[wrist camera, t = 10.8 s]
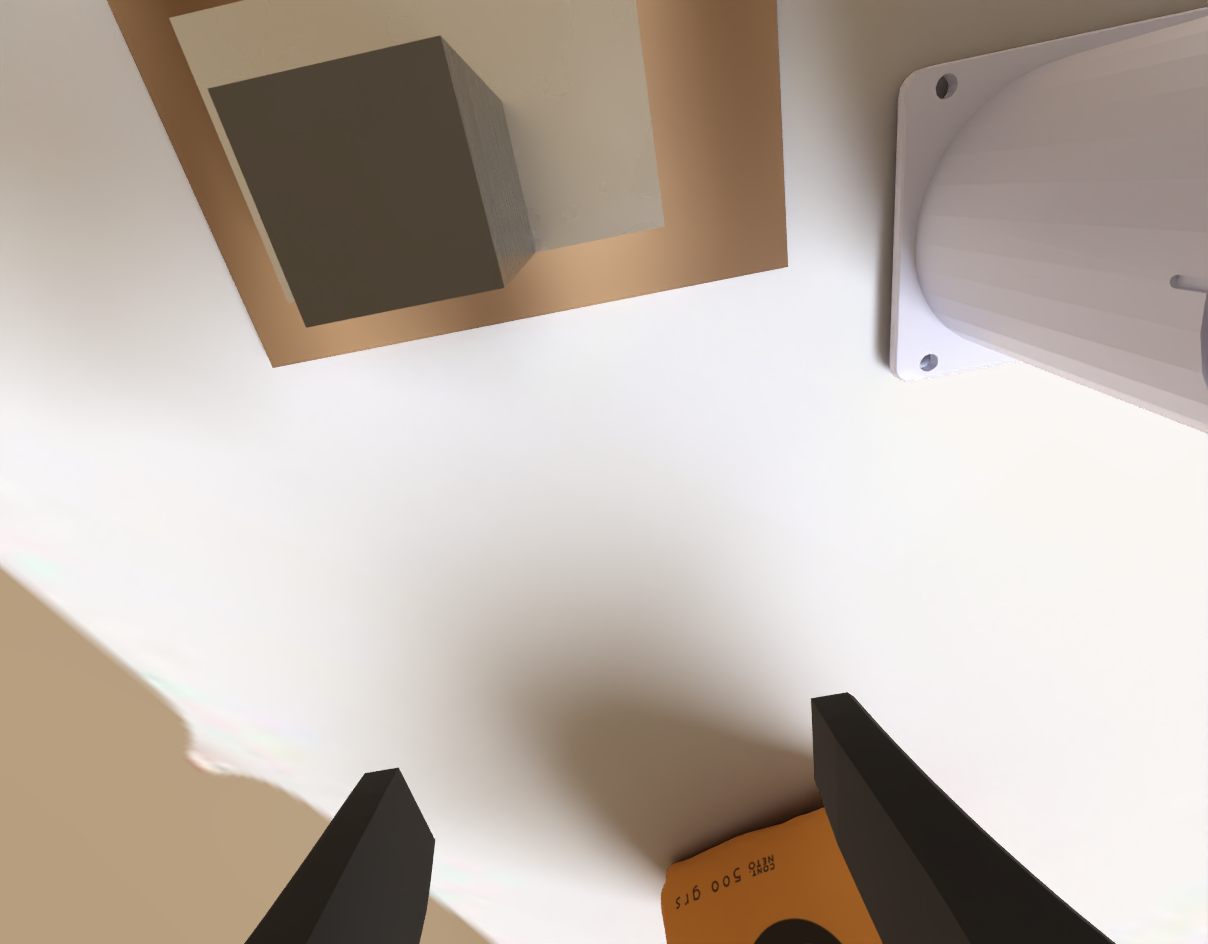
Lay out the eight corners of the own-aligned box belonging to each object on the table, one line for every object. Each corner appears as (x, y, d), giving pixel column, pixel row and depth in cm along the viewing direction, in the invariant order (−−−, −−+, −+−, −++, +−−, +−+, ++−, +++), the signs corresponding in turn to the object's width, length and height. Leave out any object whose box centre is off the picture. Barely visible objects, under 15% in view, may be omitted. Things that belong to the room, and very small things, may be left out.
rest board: (762, -168, 12) (768, -182, 12) (782, 264, 16) (787, 266, 16) (115, -12, 13) (98, -19, 13) (281, 363, 17) (272, 368, 17)
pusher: (617, -41, 13) (654, -337, 6) (653, 221, 15) (711, 246, 8) (238, 47, 13) (-164, -121, 6) (331, 287, 16) (116, 366, 9)
